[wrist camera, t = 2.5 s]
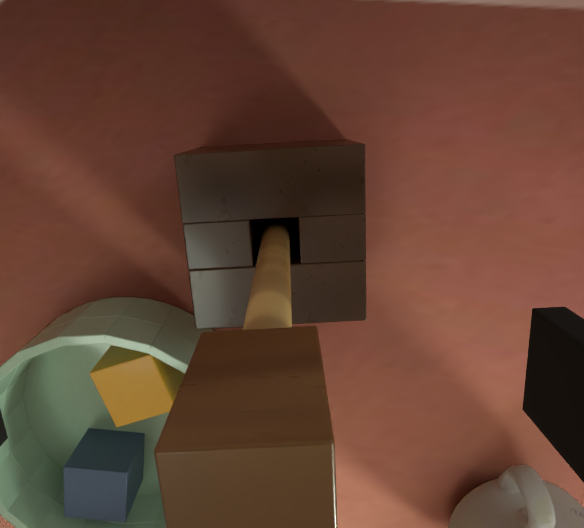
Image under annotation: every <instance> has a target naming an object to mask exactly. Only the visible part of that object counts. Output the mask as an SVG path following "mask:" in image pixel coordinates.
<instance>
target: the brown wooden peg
mask: <svg viewBox="0 0 584 528" xmlns="http://www.w3.org/2000/svg"><path fill="white" fill-rule="evenodd" d="M154 456H155V462H156V468H157V474H158V480H159V486H160V492H161V498H162V504H163V510H164V516H165V522H166V528H337V502H336V472H335V442H334V435H333V429H332V422H331V415H330V409H329V402H328V396H327V389H326V382H325V376H324V369H323V363H322V356H321V349H320V343H319V336H318V330H317V327H316V326H305V327H292V312H291V277H290V241H289V218H271V219H266V221H265V226H264V231H263V235H262V240H261V245H260V250H259V254H258V259H257V264H256V269H255V273H254V278H253V283H252V288H251V292H250V297H249V302H248V307H247V311H246V316H245V321H244V326H243V330H231V331H213V332H202V333H201V335H200V338H199V340H198V343H197V345H196V348H195V350H194V353H193V355H192V358H191V360H190V363H189V365H188V368H187V370H186V372H185V375H184V377H183V380H182V382H181V385H180V387H179V390H178V392H177V395H176V397H175V400H174V402H173V405H172V407H171V410H170V412H169V415H168V417H167V420H166V422H165V425H164V427H163V429H162V432H161V434H160V437H159V439H158V442H157V444H156V447H155V449H154Z"/></svg>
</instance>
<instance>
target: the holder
mask: <svg viewBox="0 0 584 528" xmlns="http://www.w3.org/2000/svg"><path fill="white" fill-rule="evenodd" d="M174 159H175V168H176V176H177V184H178V192H179V200H180V208H181V216H182V223H183V231H184V239H185V247H186V255H187V264H188V269H189V279H190V287H191V295H192V303H193V311H194V319H195V328H196V329H212V328H230V327H243V326H244V321H245V316H246V311H247V307H248V302H249V297H250V292H251V288H252V283H253V278H254V273H255V269H256V264H257V259H258V254H259V250H260V245H261V240H262V235H260V223H259V219H271V218H289V217H297V232H298V233H292V234H289V241H290V277H291V312H292V324H304V323H322V322H340V321H359V320H366V261H365V260H366V214H365V212H366V208H365V144H362V143H358V142H355V141H351V140H347V139H339V140H321V141H303V142H285V143H268V144H250V145H232V146H214V147H200V148H196V149H193V150H189V151H186V152H182V153H179V154H175V155H174Z"/></svg>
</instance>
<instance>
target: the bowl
mask: <svg viewBox="0 0 584 528" xmlns="http://www.w3.org/2000/svg"><path fill="white" fill-rule="evenodd" d="M213 331H214V330H213V329H196V328H195V319H194V315H192V314H190V313H188V312H186V311H184V310H182V309H180V308H178V307H175V306H172V305H170V304H167V303H164V302H160V301H156V300H152V299H145V298H137V297H114V298H106V299H100V300H96V301H92V302H88V303H86V304H83V305H81V306H78V307H76V308H73V309H72V310H70V311H68V312H66V313H65V314H63V315H61V316H59V317H58V318H57V319H55V320H54V321H53V322H52V323H51V324H50V325H48V326H47V327H46V328H45V329H44V330H42V331H41V332H40V333H39V334H38V335H37V336H35V337H34V338H33V339H32V340H31V341H30V342H28V343H27V344H26V345H25V346H24V347H23V348H21V349H20V350H19V351H18V352H17V353H15V354H14V355H13V356H12V357H11V358H10V359H8V360H7V361H6V362H5V363H4V364H3V365H1V366H0V410H1V413H2V417H3V421H4V425H5V428H6V432H7V436H8V438H7V440H6V441H5V442H4V443H3V444H2V445H1V446H0V515H1V516H2V517H3V518H4V519H6V520H7V521H8V522H9V523H11V524H12V525H13V526H14V527H16V528H166V522H165V516H164V510H163V504H162V498H161V492H160V486H159V480H158V474H157V468H156V462H155V456H154V449H155V447H156V444H157V442H158V439H159V437H160V434H161V432H162V429H163V427H164V425H165V422H166V420H167V417H168V415H169V412H167V413H164V414H161V415H157V416H154V417H150V418H147V419H144V420H140V421H137V422H134V423H130V424H127V425H123V426H120V427H116V425H115V423H114V421H113V419H112V418H111V416H110V414H109V412H108V410H107V408H106V406H105V404H104V402H103V400H102V398H101V396H100V394H99V392H98V390H97V388H96V386H95V384H94V382H93V380H92V378H91V376H90V374H89V373H90V371H91V370H92V369H93V368H94V366H95V365H96V364H97V362H98V361H99V360H100V359H101V357H102V356H103V355H104V354H105V352H106V351H107V350H108V349H109V347H110V346H111V345H113V346H117V347H121V348H126V349H130V350H135V351H139V352H143V353H148V354H150V355H151V356H153V357H155V358H157V359H159V360H161V361H162V362H164V363H166V364H168V365H170V366H172V367H173V368H175V369H177V370H179V371H181V372H183V373H184V374H185V372H186V370H187V368H188V365H189V363H190V360H191V358H192V355H193V353H194V350H195V348H196V345H197V343H198V340H199V338H200V335H201V333H202V332H213ZM88 428H94V429H105V430H115V431H126V432H137V433H145V441H144V468H143V480H142V483H141V485H140V488H139V490H138V493H137V495H136V498H135V500H134V503H133V505H132V508H131V510H130V513H129V515H128V517H127V520H126V522H115V521H104V520H92V519H80V518H69V517H64V476H63V467H64V465H65V464H66V462H67V461H68V459H69V458H70V456H71V454H72V453H73V451H74V450H75V448H76V447H77V445H78V444H79V442H80V441H81V439H82V437H83V436H84V434H85V433H86V431H87V430H88Z"/></svg>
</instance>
